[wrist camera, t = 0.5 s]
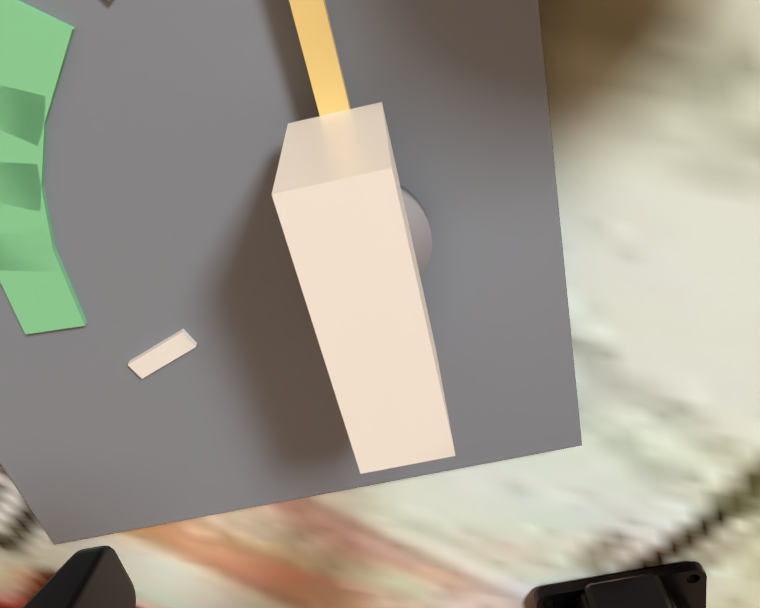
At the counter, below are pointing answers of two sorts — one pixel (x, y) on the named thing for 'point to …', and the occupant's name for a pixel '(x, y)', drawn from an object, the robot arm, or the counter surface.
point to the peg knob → (361, 264)
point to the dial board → (255, 249)
